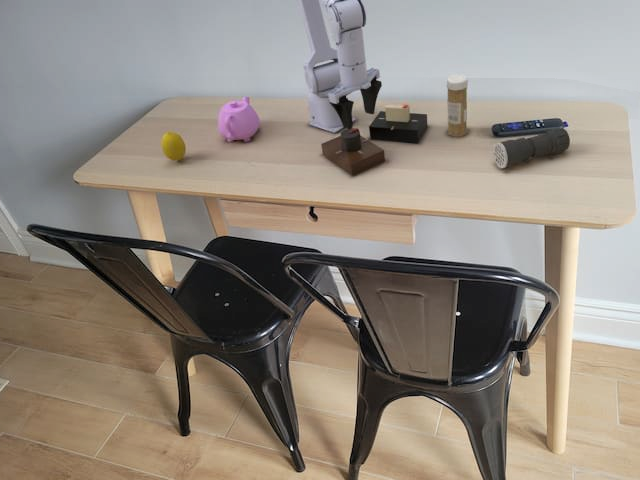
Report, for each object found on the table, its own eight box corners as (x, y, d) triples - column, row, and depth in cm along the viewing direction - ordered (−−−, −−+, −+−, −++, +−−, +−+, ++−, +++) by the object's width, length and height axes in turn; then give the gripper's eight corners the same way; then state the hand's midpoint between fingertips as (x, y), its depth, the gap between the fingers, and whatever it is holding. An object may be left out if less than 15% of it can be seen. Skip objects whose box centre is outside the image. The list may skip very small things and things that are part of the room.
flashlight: (556, 143, 127) (559, 121, 123) (570, 155, 123) (574, 132, 119) (492, 161, 125) (493, 138, 121) (504, 172, 121) (506, 150, 117)
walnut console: (322, 155, 136) (320, 143, 134) (354, 141, 139) (352, 129, 137) (352, 176, 128) (350, 164, 125) (385, 161, 131) (384, 149, 128)
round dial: (349, 153, 129) (347, 138, 127) (338, 146, 132) (336, 131, 130) (365, 146, 131) (363, 131, 128) (354, 139, 134) (352, 124, 131)
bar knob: (386, 120, 138) (384, 106, 135) (388, 117, 139) (387, 103, 136) (408, 122, 136) (407, 107, 133) (410, 119, 137) (409, 104, 134)
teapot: (214, 148, 146) (203, 114, 140) (235, 120, 157) (226, 87, 151) (251, 148, 143) (242, 113, 137) (271, 119, 154) (263, 86, 148)
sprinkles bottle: (471, 132, 135) (472, 77, 127) (456, 139, 134) (456, 84, 125) (457, 126, 139) (457, 72, 130) (443, 133, 137) (442, 78, 128)
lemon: (193, 155, 144) (183, 126, 139) (182, 167, 141) (172, 138, 135) (175, 154, 146) (164, 126, 141) (163, 166, 142) (152, 137, 137)
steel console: (369, 141, 139) (367, 127, 136) (382, 122, 145) (381, 108, 143) (416, 145, 134) (416, 131, 132) (428, 125, 141) (428, 111, 138)
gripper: (342, 77, 114) (351, 138, 123) (388, 51, 122) (392, 110, 131) (317, 71, 118) (327, 131, 127) (363, 46, 126) (369, 104, 135)
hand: (359, 120), depth 129 cm, fingers open, 7 cm apart
